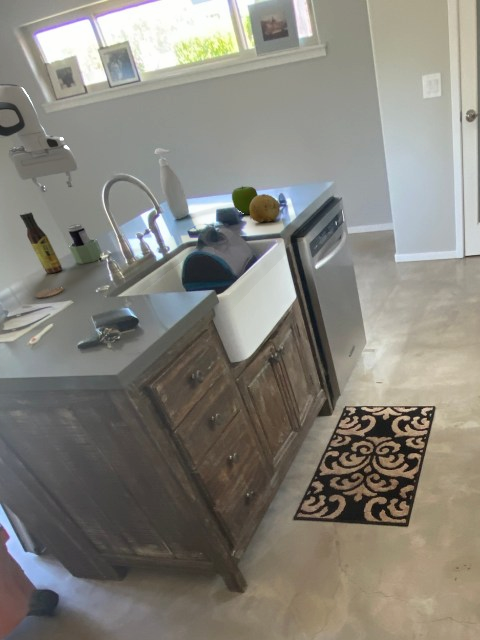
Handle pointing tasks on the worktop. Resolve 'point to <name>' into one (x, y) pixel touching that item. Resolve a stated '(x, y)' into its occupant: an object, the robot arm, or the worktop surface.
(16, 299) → the worktop surface
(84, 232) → the beverage can
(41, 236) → the sauce bottle
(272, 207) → the potato
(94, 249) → the green bowl
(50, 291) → the coaster
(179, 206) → the soap bottle
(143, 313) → the worktop surface
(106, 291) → the worktop surface
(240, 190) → the apple
